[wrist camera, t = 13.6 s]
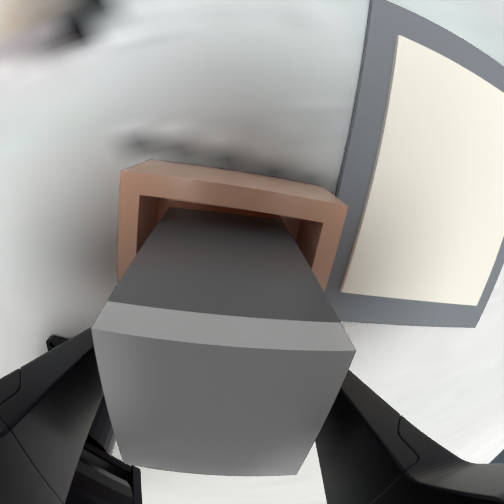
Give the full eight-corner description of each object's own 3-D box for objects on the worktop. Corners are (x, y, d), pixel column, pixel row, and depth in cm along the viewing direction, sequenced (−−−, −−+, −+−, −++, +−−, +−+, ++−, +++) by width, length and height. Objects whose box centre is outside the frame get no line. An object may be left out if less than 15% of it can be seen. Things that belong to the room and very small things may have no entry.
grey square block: (262, 305, 17) (296, 474, 8) (168, 295, 16) (123, 463, 7) (278, 213, 15) (355, 350, 6) (173, 201, 14) (91, 328, 5)
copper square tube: (285, 329, 18) (296, 376, 14) (141, 309, 17) (121, 353, 14) (321, 186, 15) (348, 206, 11) (149, 159, 14) (121, 171, 10)
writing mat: (472, 324, 19) (477, 329, 19) (303, 313, 18) (306, 320, 17) (535, 95, 13) (542, 95, 12) (370, -2, 11) (375, -7, 11)
